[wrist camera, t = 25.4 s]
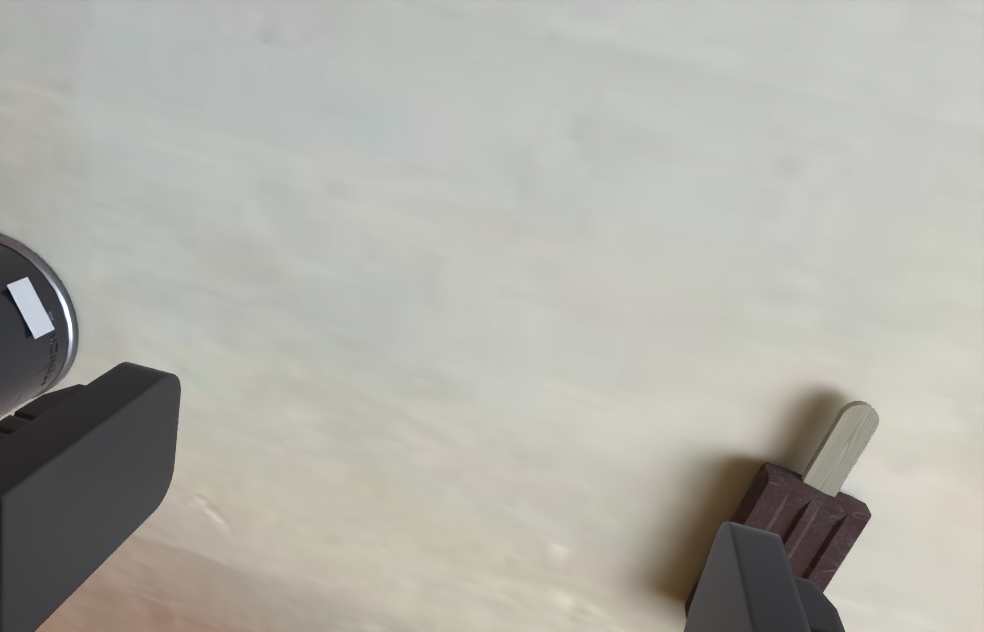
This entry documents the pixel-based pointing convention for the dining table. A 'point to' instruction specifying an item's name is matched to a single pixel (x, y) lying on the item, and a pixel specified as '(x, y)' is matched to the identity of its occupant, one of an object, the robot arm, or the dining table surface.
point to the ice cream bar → (813, 501)
